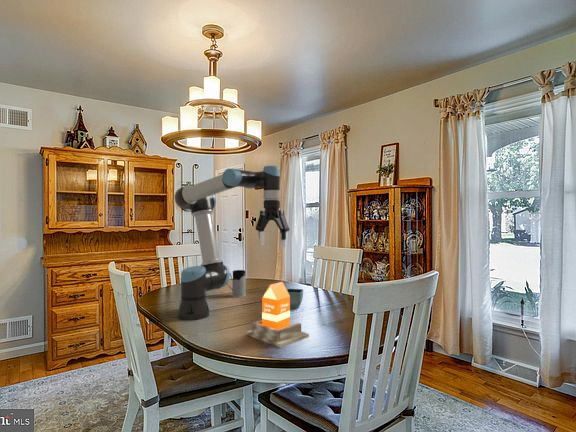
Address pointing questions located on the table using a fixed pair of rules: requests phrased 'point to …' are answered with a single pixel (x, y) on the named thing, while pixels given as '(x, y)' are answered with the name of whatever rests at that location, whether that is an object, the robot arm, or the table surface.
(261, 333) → the keeper bracket
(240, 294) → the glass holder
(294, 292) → the flower pot
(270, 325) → the orange juice
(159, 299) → the table surface
